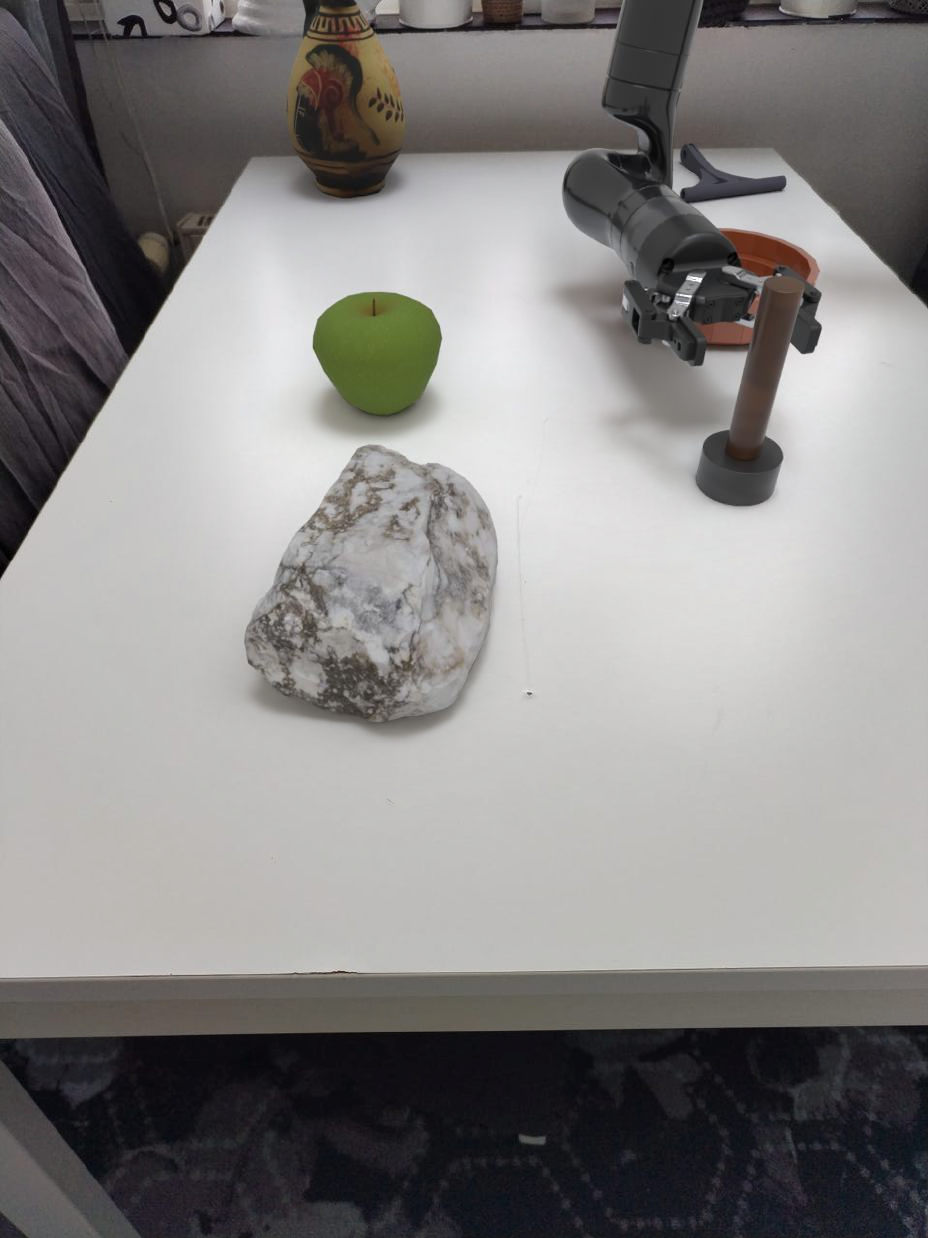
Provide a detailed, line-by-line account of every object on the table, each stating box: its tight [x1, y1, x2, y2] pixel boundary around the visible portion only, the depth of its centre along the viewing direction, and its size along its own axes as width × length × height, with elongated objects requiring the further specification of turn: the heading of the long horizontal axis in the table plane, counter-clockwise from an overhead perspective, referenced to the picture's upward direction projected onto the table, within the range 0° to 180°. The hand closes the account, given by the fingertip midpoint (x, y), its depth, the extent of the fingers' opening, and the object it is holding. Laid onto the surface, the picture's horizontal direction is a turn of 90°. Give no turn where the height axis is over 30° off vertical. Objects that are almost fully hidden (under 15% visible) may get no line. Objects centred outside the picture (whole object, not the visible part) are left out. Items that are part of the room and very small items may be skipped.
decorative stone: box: [243, 443, 499, 723], centre depth 55 cm, size 20×14×10 cm
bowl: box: [657, 227, 820, 346], centre depth 87 cm, size 18×18×5 cm
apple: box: [312, 291, 443, 417], centre depth 74 cm, size 11×10×10 cm
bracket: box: [679, 142, 787, 203], centre depth 116 cm, size 14×15×3 cm
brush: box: [695, 276, 805, 507], centre depth 62 cm, size 6×6×16 cm
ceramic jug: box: [285, 0, 406, 199], centre depth 107 cm, size 17×15×30 cm
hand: (757, 348), depth 62 cm, fingers open, 8 cm apart
